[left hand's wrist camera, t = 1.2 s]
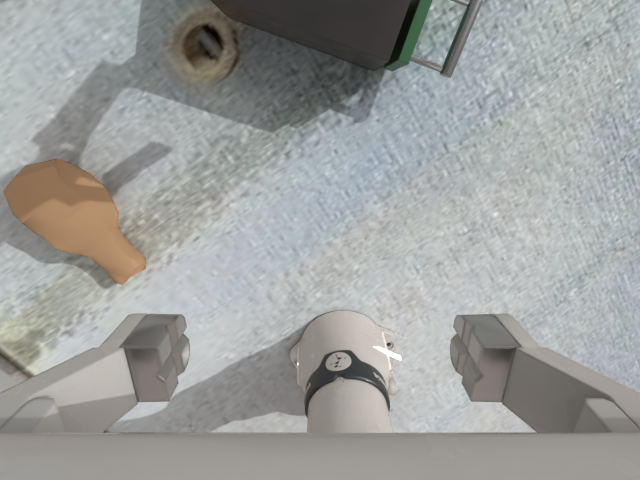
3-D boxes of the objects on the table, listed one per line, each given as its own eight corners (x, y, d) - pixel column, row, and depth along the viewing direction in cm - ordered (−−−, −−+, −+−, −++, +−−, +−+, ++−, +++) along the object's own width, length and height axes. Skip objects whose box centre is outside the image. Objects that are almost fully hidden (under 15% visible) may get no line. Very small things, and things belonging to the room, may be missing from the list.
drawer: (464, 9, 42) (498, -14, 34) (432, 86, 45) (457, 82, 37) (274, -67, 40) (263, -112, 31) (255, 20, 43) (240, 1, 35)
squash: (76, 138, 49) (44, 146, 41) (171, 245, 58) (160, 270, 49) (12, 178, 49) (-33, 195, 41) (116, 279, 58) (97, 309, 50)
